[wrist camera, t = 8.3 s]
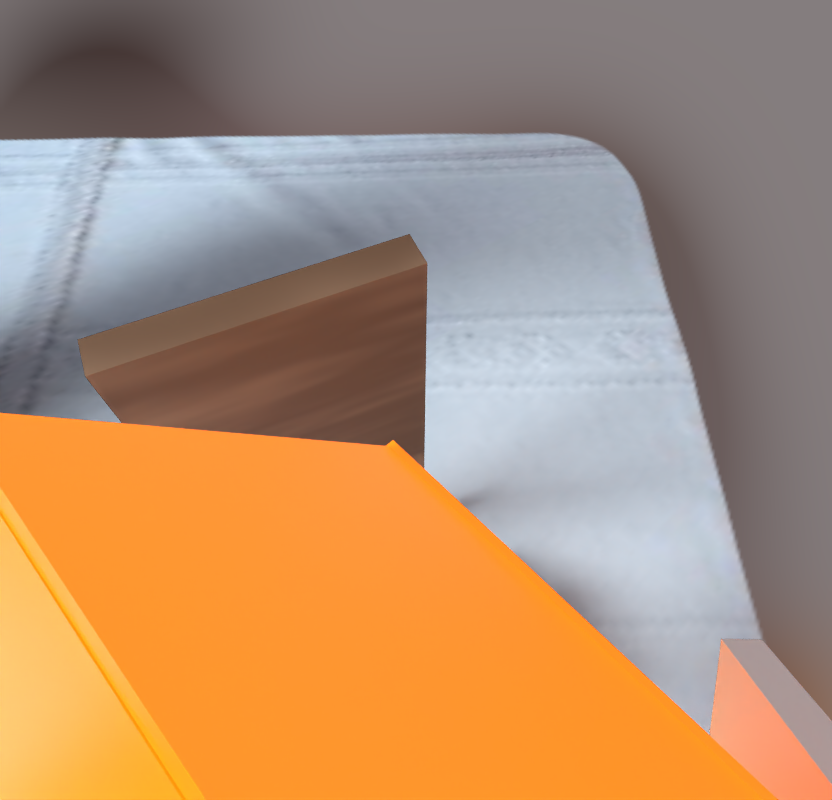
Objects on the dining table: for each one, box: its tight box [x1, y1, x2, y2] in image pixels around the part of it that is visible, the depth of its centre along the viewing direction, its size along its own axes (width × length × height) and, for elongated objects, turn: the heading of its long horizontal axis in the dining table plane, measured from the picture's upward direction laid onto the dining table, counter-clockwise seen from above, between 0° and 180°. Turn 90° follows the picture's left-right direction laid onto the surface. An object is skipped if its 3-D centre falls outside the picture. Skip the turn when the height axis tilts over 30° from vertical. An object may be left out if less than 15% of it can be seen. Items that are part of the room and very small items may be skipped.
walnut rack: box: [78, 234, 427, 468], centre depth 28 cm, size 18×12×24 cm, turn 24°
